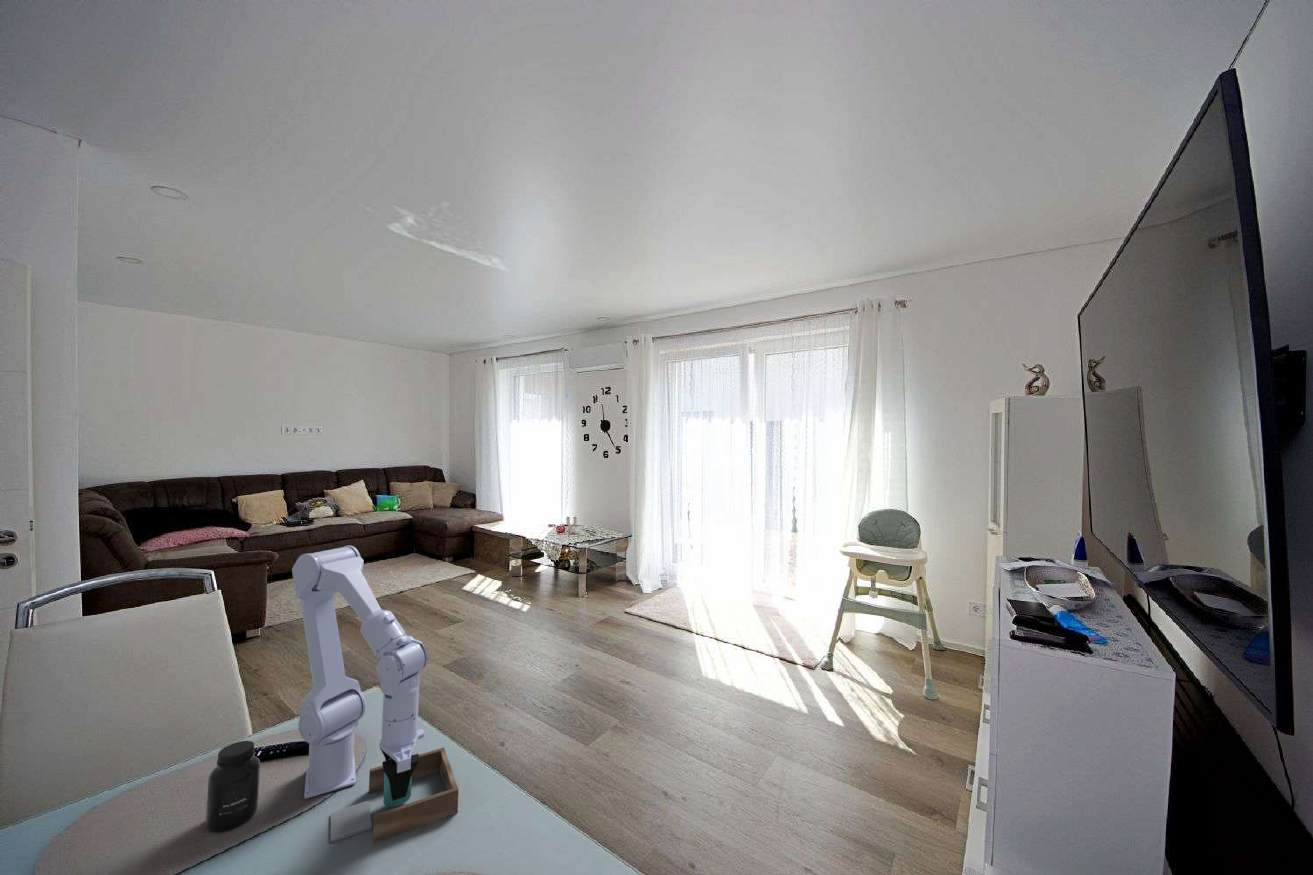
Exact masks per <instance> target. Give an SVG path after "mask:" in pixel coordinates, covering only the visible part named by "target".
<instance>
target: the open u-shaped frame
mask: <svg viewBox="0 0 1313 875" xmlns="http://www.w3.org/2000/svg"><path fill="white" fill-rule="evenodd" d="M418 755H419V762H418V764H417V766H416V767H415V769H414V771H413V773H412V780H415V779H418V778H422V777H425V776H428V775H432V774H434V773H437V772H439V773H440V776H441V779H442V783H443V786H444V791H442V792H441V791H440V792H438V793H435V794H432V795H429V796H426V797H424V798H420V799H418V800H417V799H416V800H415V801H412V802H409V803H406V804H402V805H400V806H396V807H393V808H391V809H388V810H386V811H383V812H380V813H377V814H374V815H373V816H374V817H373V837H372V838H373V839H372V842H373V844H374V843H378V842H380V841H382V840H385V839H388V838H391V837H394V836H396V835H399V834H400V835H401V834H402V833H405V832H408V831H410V830H411V831H412V830H413V829H415V828H419V827H420V826H424V825H426V824H430V823H432V822H435V821H437V820H440V819H443V818H445V817H446V818H447V817H448V816H450V815H453V814H456V813H459V812H458V810H459V788H458V787H459V786H458V784H457V781H456V778H455V776H454V773H453V770H452V767H451V764H450V761H449V758H448V756H447V751H446V749H445V747H441V748H437V749H434V750H430V751H426V752H424V753H420V754H418ZM368 776H369V777H368V793H369V794H371V793H376V792H378V791H381V790H384V770H383V765H380V766H379V765H378V766H375V767H373V768H372V767H371V768H369V774H368ZM412 780H411V781H412Z"/></svg>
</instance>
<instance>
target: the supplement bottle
mask: <svg viewBox="0 0 1313 875" xmlns="http://www.w3.org/2000/svg"><path fill="white" fill-rule="evenodd" d="M260 760H261V759H259V757H258V756H255V743H254V742H253V741H251V740H241V741H237V742H233V743H231V744H227V745H226V746H224V747H222V749H220V750H219V751H218V752H217V761H216V767H214V768H213V770H212V771H211V773H210V774H209V776H208V781H207V794H206V795H207V796H206V810H205V829H206V831H208V832H210V833H213V834H221V833H226V832H230V831H233V830H235V829H238V828H240V827H241V826H243V825H245V824H247V823H248V822H249V821H250V820H252V818H253V817H255V814H256V813H257V811H258V805H259V793H260V791H259V790H260V779H261V761H260Z"/></svg>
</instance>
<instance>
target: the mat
mask: <svg viewBox="0 0 1313 875" xmlns="http://www.w3.org/2000/svg"><path fill="white" fill-rule="evenodd" d="M370 806H371V804H370V800H367V801H364V802H359V803H357V804H355V805H351V806H348V807H344V808H341V809H339V810H336V811H332V812H330V839H329V840H330V841H329V843H330V844H333V843H335V842H338V841H341V840H343V839H346V838H350V837H352V836H354V835H358V834H360V833H363V832H364V833H365V832H366V831H369V830H372V826H373V825H372V817H371V816H372V814H371V807H370Z"/></svg>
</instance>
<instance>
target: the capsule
mask: <svg viewBox="0 0 1313 875" xmlns="http://www.w3.org/2000/svg"><path fill="white" fill-rule="evenodd" d="M390 759H392V758H390ZM390 759H388V760H390ZM411 796H412V776H411V779H410V783H409V787H408V791H407V794H406V796H405V797H403V798H400V799H397V800H394V801H393V800H392V796H391V790H390V783H389V779H388V777H387V775H386V774H385V772H384V789H383V802H382V803H383V805H384V806H385V807H388V808H397V807H400V806H403V805H405V803H407V802H408V801H409V800H410V798H411Z"/></svg>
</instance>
